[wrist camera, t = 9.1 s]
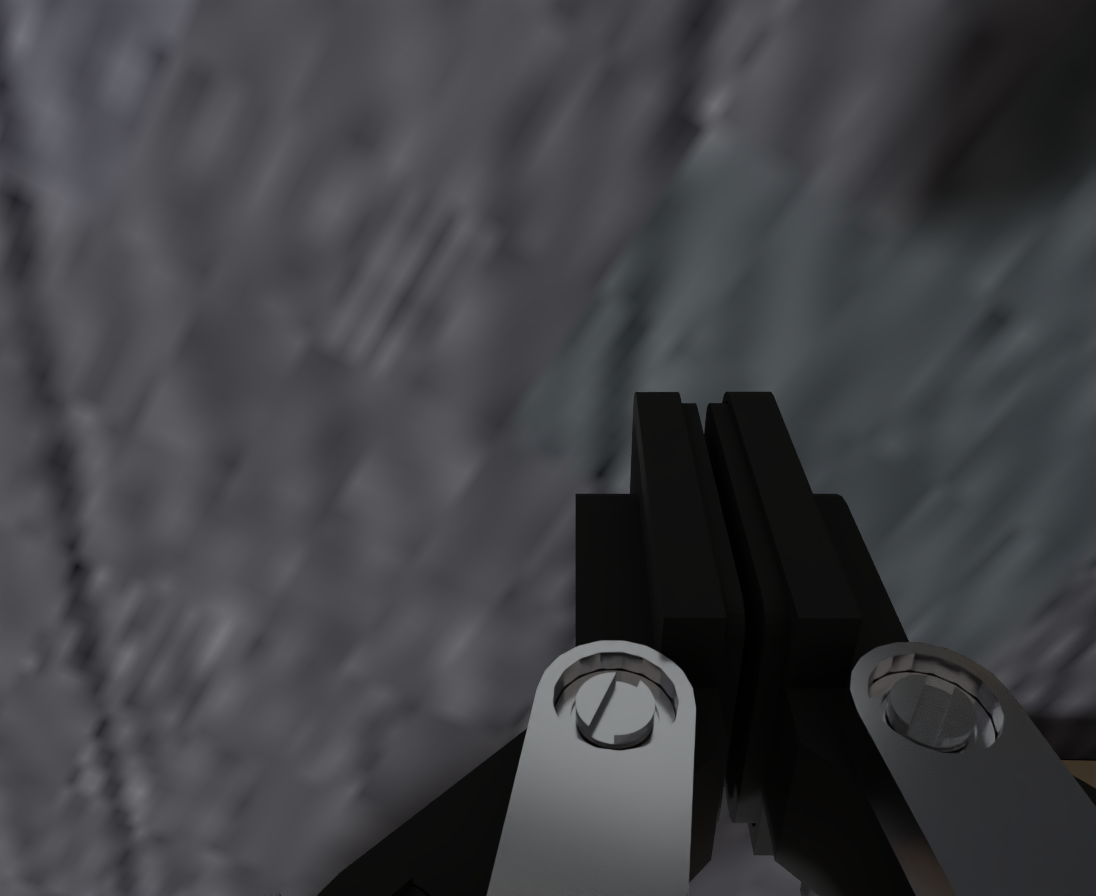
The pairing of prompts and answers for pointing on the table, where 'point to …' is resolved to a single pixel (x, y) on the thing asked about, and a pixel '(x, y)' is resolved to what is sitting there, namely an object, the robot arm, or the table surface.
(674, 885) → the robot arm
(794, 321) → the table surface
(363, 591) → the table surface
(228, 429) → the table surface
